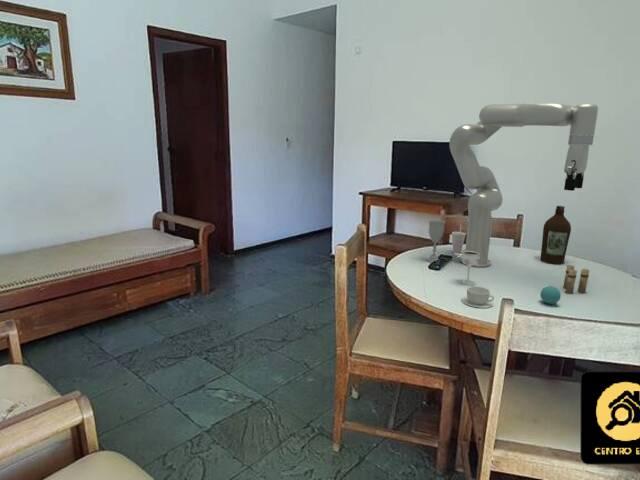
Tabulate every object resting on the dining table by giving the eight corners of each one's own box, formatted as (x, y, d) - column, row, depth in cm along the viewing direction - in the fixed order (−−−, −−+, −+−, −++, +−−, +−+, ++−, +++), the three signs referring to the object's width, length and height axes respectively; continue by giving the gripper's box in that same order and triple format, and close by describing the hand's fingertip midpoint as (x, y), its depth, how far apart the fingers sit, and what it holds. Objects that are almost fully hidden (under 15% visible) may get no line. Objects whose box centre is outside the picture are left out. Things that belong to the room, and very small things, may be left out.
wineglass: (457, 284, 160) (461, 253, 157) (458, 278, 167) (461, 248, 164) (476, 286, 158) (480, 255, 155) (477, 280, 164) (480, 250, 161)
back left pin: (564, 289, 157) (568, 267, 155) (561, 286, 159) (565, 265, 157) (572, 289, 157) (575, 267, 154) (568, 287, 159) (572, 265, 157)
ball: (543, 306, 141) (545, 289, 140) (536, 299, 147) (538, 282, 145) (562, 307, 140) (565, 290, 139) (554, 300, 146) (557, 283, 145)
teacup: (457, 304, 142) (459, 291, 141) (466, 295, 150) (467, 282, 149) (488, 311, 137) (490, 298, 136) (496, 301, 145) (497, 288, 144)
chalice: (443, 260, 190) (446, 220, 185) (440, 264, 184) (444, 223, 179) (426, 257, 193) (429, 219, 188) (423, 261, 187) (426, 221, 182)
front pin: (567, 293, 152) (570, 271, 150) (563, 291, 155) (567, 269, 153) (574, 294, 152) (578, 271, 150) (571, 291, 154) (575, 269, 152)
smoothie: (464, 255, 198) (467, 225, 194) (450, 254, 199) (453, 225, 195) (463, 251, 204) (466, 223, 200) (449, 250, 205) (451, 222, 202)
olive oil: (537, 256, 197) (545, 203, 191) (563, 259, 194) (572, 205, 187) (539, 263, 188) (548, 207, 181) (567, 266, 184) (576, 209, 178)
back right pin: (579, 293, 153) (583, 270, 151) (576, 290, 155) (580, 268, 153) (586, 293, 153) (590, 271, 151) (583, 291, 155) (587, 268, 153)
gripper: (575, 140, 159) (568, 186, 164) (561, 140, 147) (554, 190, 152) (598, 140, 154) (591, 188, 158) (586, 141, 142) (577, 192, 146)
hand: (573, 189), depth 155 cm, fingers open, 9 cm apart
